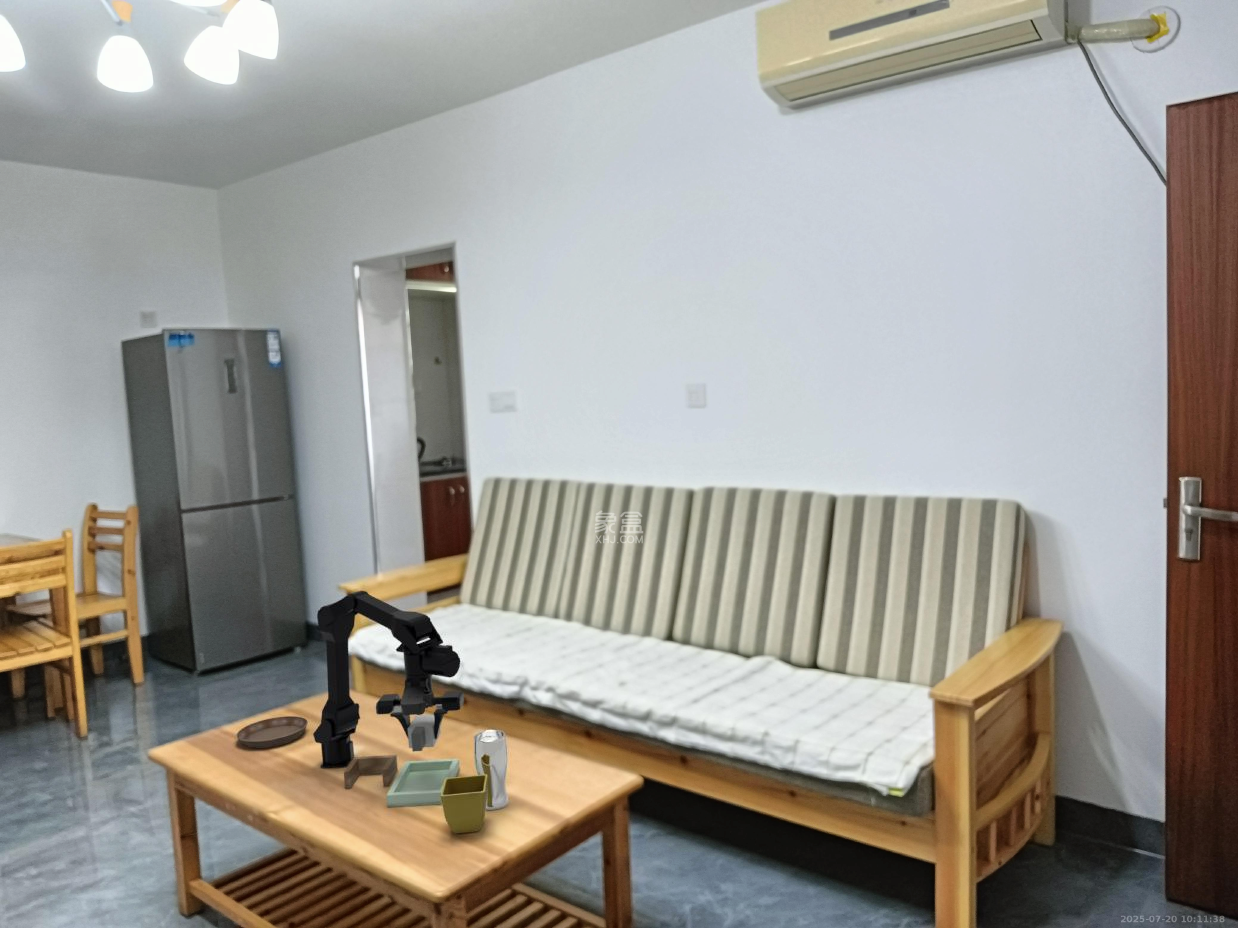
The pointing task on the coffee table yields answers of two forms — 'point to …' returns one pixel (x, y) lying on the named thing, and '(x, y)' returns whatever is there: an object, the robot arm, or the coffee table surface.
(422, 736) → the grey stepped block
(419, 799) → the tray
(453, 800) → the flower pot
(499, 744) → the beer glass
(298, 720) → the plant saucer
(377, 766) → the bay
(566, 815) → the coffee table surface
